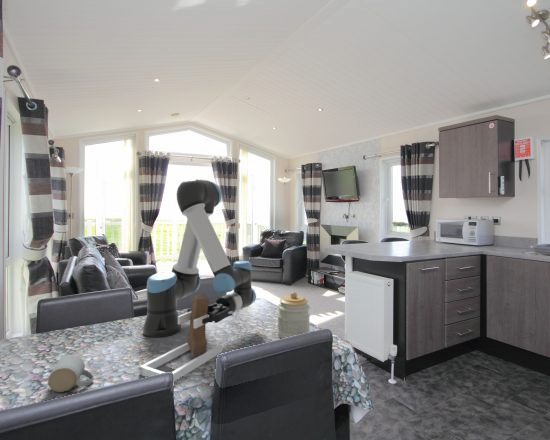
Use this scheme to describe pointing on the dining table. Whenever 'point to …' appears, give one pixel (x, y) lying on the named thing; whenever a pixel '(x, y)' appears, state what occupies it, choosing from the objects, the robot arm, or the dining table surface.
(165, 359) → the channel
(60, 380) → the ceramic mug
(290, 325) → the jar
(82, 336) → the dining table surface
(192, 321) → the wooden block
